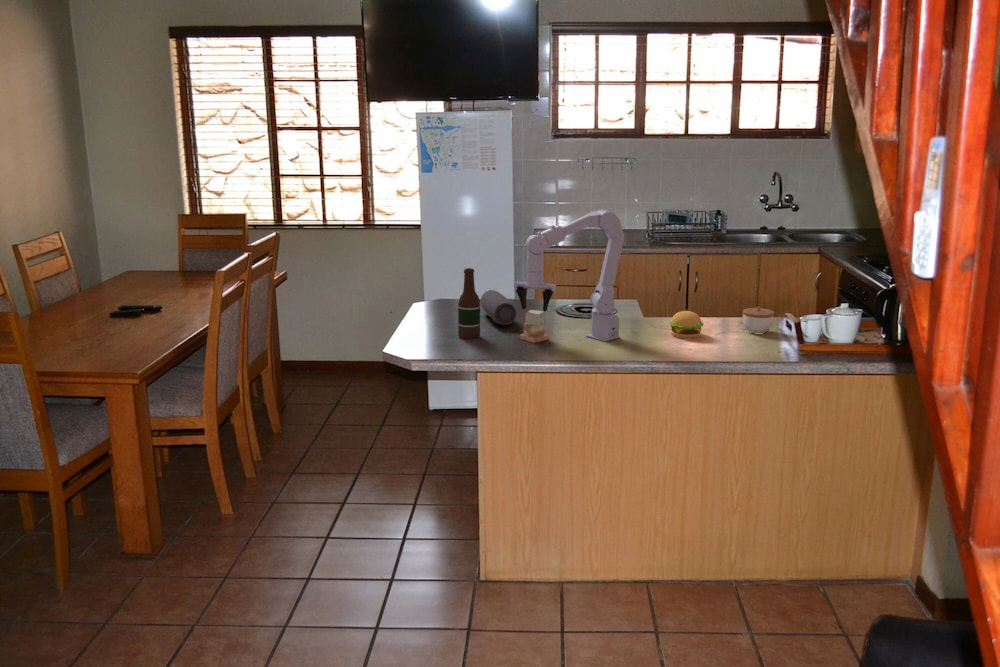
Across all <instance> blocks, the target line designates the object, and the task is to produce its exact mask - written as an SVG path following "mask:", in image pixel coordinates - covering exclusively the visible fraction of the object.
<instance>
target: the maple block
mask: <svg viewBox="0 0 1000 667" xmlns="http://www.w3.org/2000/svg"><path fill="white" fill-rule="evenodd" d="M523 334H524V335H527V336H530V337H538V336H542V335H544V334H545V323H542V324H541V325H540V326H537V325H527V324H525V322H524V323H523Z"/></svg>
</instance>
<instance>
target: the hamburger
mask: <svg viewBox="0 0 1000 667" xmlns="http://www.w3.org/2000/svg"><path fill="white" fill-rule="evenodd" d="M668 325H670V327H671V330H670V333H671V335H672V336H673V337H675V338H677V337H678V339H684V338H692V339H697V338H699V337H700V335H701V332H702V327H703V326H704V323H703V321H702V319H701V317H700V316H699V314H697V313H696V312H693V311H691V310H682V311H678V312H676V313H675V314H674V315H673V316H672V318H671V320H669V321H668ZM696 337H697V338H696Z"/></svg>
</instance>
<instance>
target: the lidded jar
mask: <svg viewBox="0 0 1000 667" xmlns="http://www.w3.org/2000/svg"><path fill="white" fill-rule="evenodd" d="M774 316H775V312H774V311H773V310H771V309H767V308H762V307H761V306H757V307H749V308H748V307H747V308H744V309H743V310H742V323H743V326H744V329H746V331H747V332H748V331H749V332H751V333H765V332H766V333H767V332H768V331H769V330H770V329H771V327H772V326H773V321H774ZM749 332H748V333H749ZM751 333H750V334H751ZM766 333H765V334H766Z"/></svg>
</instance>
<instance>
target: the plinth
mask: <svg viewBox="0 0 1000 667" xmlns="http://www.w3.org/2000/svg"><path fill="white" fill-rule="evenodd" d="M519 339H520V340H523V341H525V342H530V343H533V344H534V343H535V344H536V343H539V342H544V341H548V340H549V334H546V333H544V335H542V336H538V337H530V336H527V335H524V333H522V334H521V333H520V334H519Z"/></svg>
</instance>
